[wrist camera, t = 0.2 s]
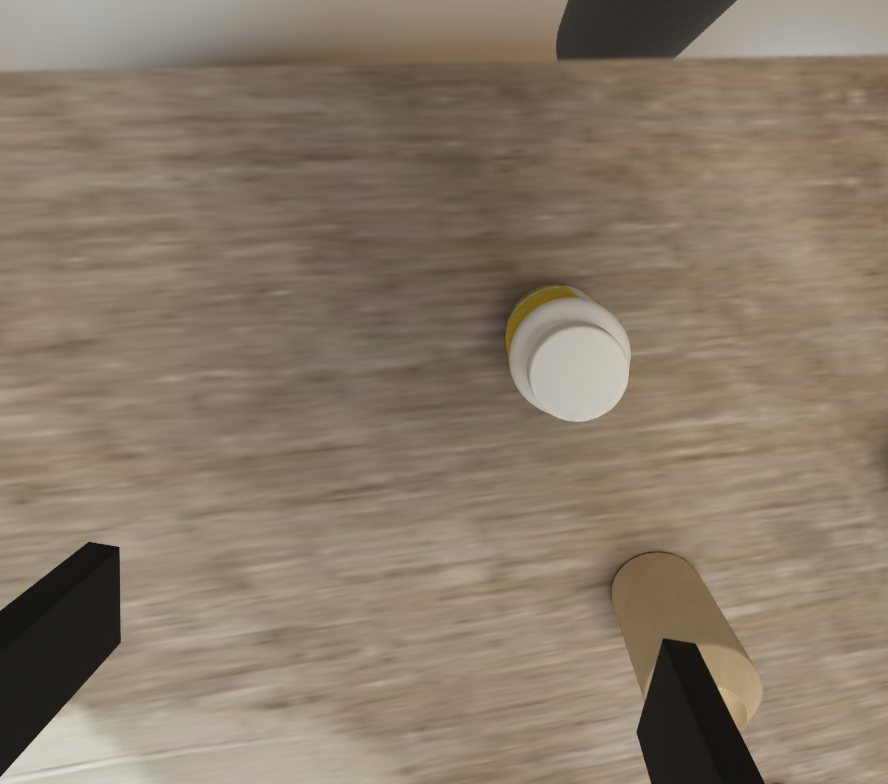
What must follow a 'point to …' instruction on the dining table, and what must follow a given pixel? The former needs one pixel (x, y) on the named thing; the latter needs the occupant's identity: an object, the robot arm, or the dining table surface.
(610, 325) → the supplement bottle
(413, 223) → the dining table surface
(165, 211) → the dining table surface
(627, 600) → the candle
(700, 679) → the robot arm
